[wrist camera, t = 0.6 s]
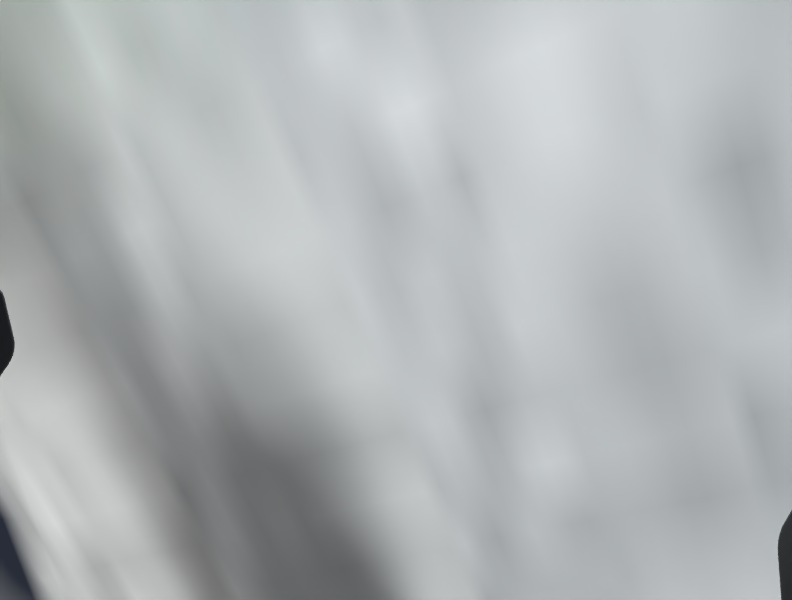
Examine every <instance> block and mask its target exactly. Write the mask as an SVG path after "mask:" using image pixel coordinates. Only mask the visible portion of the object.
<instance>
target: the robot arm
mask: <svg viewBox="0 0 792 600" xmlns="http://www.w3.org/2000/svg"><path fill="white" fill-rule="evenodd" d="M14 346H15V342H14V337H13V332H12V328H11V324H10V320H9V315H8V311H7V307H6V303H5V298H4V295H3V293H2V292H1V290H0V376H1V374H2V373H3V371H4V370H5V368H6V367H7V366H8V364H9V362H10V361H11V358H12V356H13V352H14ZM778 560H779V574H780V587H781V600H792V511H791V512H790V514H789V516H788V518H787V519H786V521H785V523H784V524H783V526H782V529H781V532H780V535H779V540H778Z"/></svg>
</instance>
